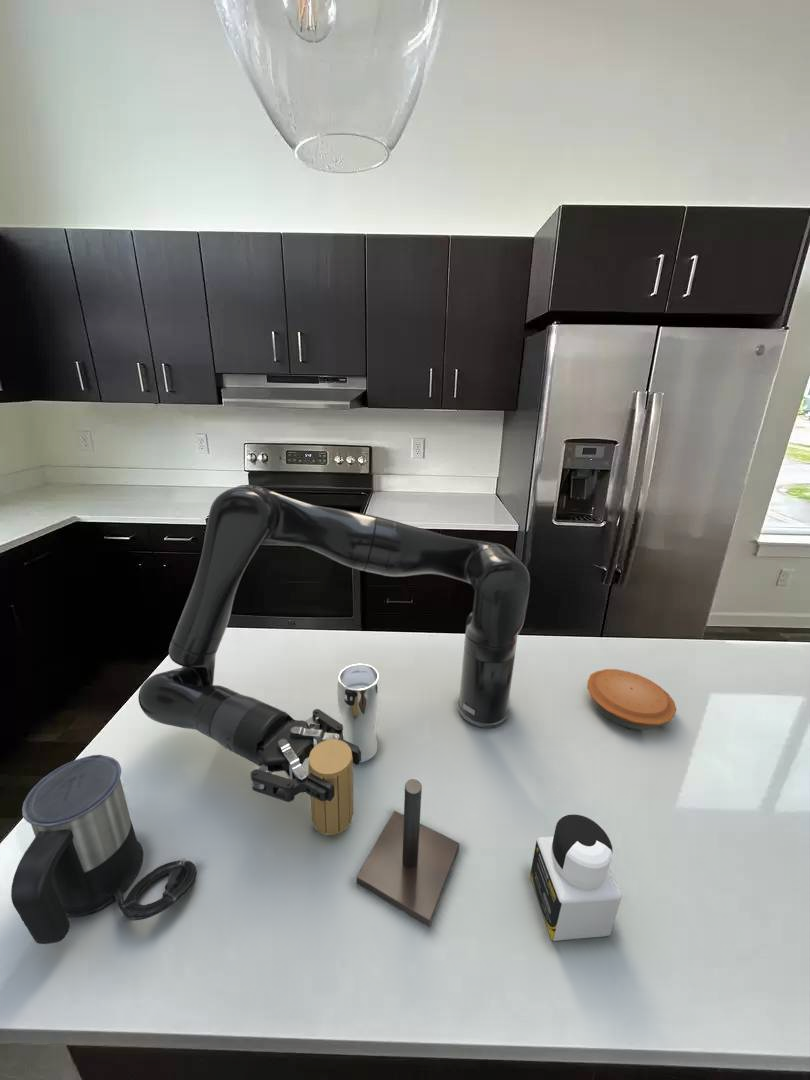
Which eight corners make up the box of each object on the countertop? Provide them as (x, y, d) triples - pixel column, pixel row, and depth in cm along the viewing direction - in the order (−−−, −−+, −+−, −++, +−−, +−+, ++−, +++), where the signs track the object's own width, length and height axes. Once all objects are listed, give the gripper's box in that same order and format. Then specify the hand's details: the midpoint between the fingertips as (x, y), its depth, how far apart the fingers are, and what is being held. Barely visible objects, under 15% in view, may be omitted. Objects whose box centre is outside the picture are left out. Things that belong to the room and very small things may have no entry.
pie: (649, 686, 90) (655, 666, 89) (687, 743, 76) (695, 721, 74) (575, 680, 92) (578, 660, 90) (598, 735, 77) (603, 713, 76)
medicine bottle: (528, 874, 55) (541, 807, 51) (581, 870, 55) (598, 803, 51) (551, 942, 48) (568, 871, 44) (611, 937, 49) (633, 866, 45)
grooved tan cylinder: (327, 790, 63) (325, 733, 60) (360, 808, 61) (360, 749, 57) (303, 822, 59) (299, 762, 55) (338, 843, 56) (336, 781, 53)
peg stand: (394, 816, 62) (395, 741, 57) (459, 849, 58) (467, 771, 53) (356, 883, 53) (354, 802, 49) (429, 927, 49) (435, 843, 44)
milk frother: (67, 852, 56) (37, 767, 51) (200, 809, 62) (184, 730, 57) (28, 985, 44) (-18, 890, 39) (197, 916, 50) (177, 826, 45)
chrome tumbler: (373, 769, 69) (373, 694, 64) (333, 761, 70) (330, 686, 65) (384, 736, 76) (385, 666, 70) (346, 729, 77) (345, 660, 72)
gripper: (207, 742, 55) (311, 798, 48) (283, 679, 67) (375, 716, 60) (214, 784, 58) (313, 843, 51) (286, 716, 70) (374, 757, 63)
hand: (346, 774), depth 56 cm, fingers closed on grooved tan cylinder, 5 cm apart
